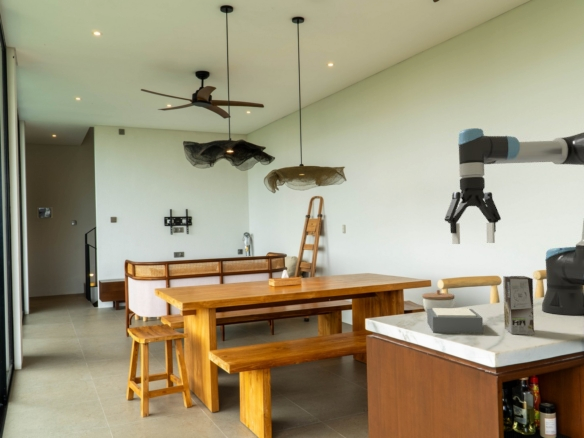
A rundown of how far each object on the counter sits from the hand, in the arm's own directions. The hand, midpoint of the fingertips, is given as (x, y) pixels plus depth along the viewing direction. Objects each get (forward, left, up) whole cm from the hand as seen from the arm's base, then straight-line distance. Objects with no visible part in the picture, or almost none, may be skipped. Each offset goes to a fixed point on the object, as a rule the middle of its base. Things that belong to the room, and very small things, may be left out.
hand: (473, 243), depth 158 cm
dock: (+8, +6, -26) cm, 28 cm away
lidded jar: (+10, -13, -26) cm, 31 cm away
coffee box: (-10, +10, -26) cm, 30 cm away
